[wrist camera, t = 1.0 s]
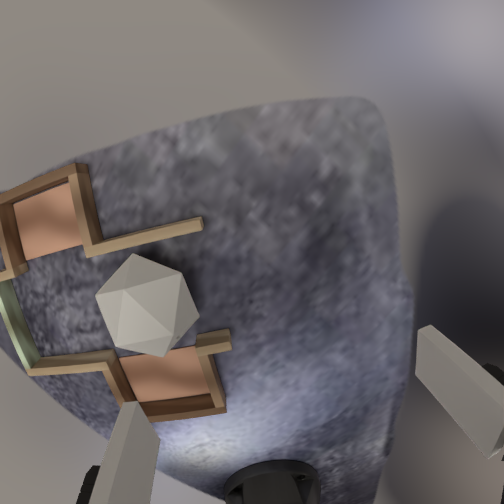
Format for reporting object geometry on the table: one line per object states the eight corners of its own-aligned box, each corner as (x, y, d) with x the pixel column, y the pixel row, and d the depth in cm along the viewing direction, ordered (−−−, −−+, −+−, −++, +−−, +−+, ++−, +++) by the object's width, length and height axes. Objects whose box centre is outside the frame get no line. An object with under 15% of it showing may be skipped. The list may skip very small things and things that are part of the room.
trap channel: (246, 392, 34) (248, 408, 31) (64, 412, 33) (57, 424, 30) (185, 136, 28) (181, 130, 25) (-12, 206, 27) (-27, 208, 24)
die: (129, 334, 32) (172, 390, 25) (71, 289, 26) (99, 348, 19) (178, 279, 34) (233, 321, 28) (129, 226, 28) (177, 261, 22)
